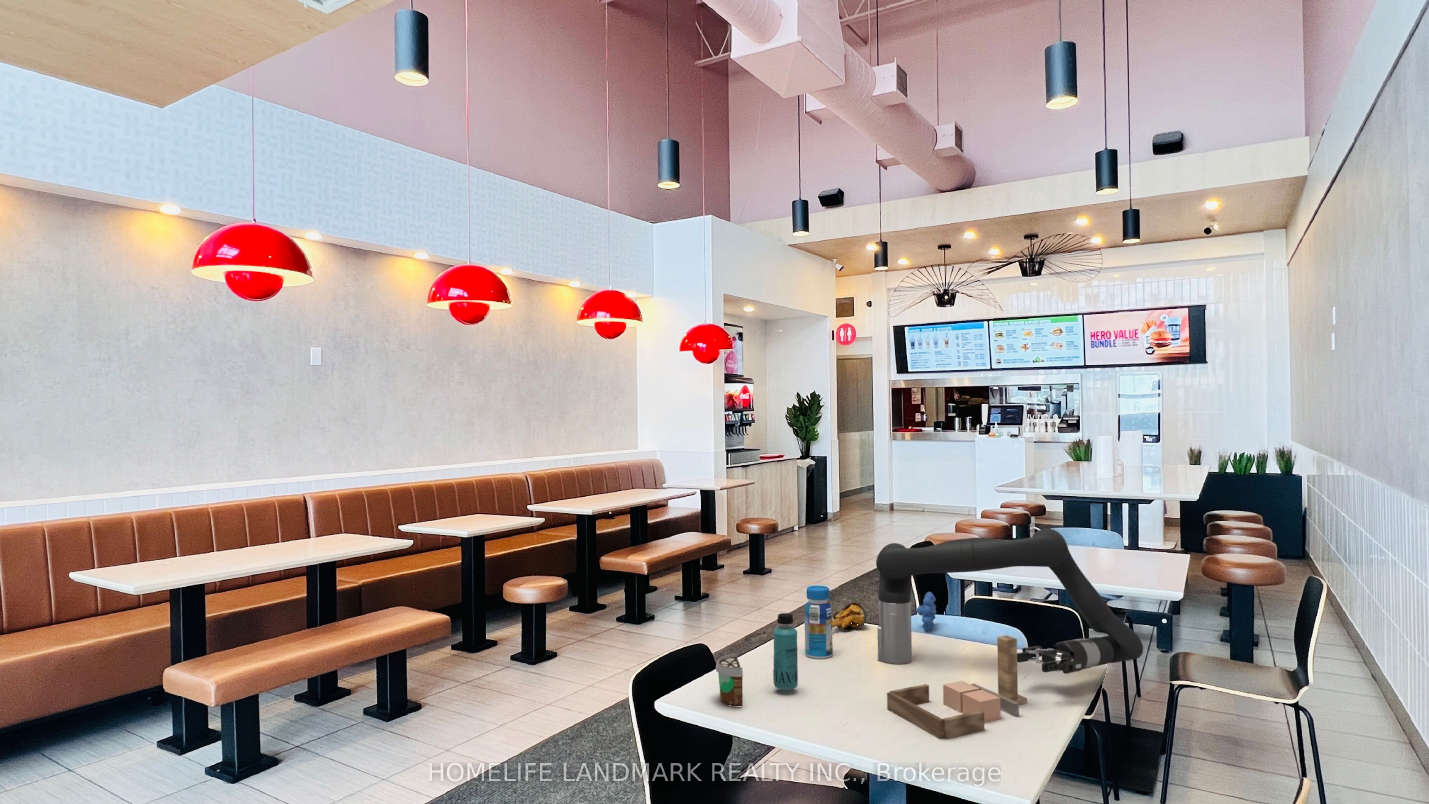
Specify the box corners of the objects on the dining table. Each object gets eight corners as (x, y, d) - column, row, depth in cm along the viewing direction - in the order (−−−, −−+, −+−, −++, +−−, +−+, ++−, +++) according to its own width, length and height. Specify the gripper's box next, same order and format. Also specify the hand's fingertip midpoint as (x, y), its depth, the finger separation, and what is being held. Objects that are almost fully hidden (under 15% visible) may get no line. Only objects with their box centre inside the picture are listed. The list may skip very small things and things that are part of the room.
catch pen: (926, 700, 199) (925, 684, 199) (984, 729, 180) (984, 712, 180) (885, 708, 194) (885, 691, 194) (941, 739, 175) (941, 721, 175)
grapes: (919, 623, 268) (918, 587, 268) (939, 625, 265) (939, 589, 265) (912, 632, 258) (912, 595, 258) (933, 634, 255) (933, 597, 255)
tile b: (962, 700, 198) (962, 680, 198) (979, 708, 193) (979, 688, 193) (943, 704, 196) (943, 684, 196) (960, 713, 190) (960, 692, 190)
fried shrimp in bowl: (877, 613, 264) (853, 606, 251) (861, 642, 264) (836, 637, 251) (856, 598, 270) (831, 591, 257) (840, 627, 270) (815, 621, 257)
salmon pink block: (982, 710, 192) (981, 689, 192) (1000, 719, 187) (1000, 697, 187) (962, 714, 190) (962, 693, 190) (980, 723, 184) (980, 701, 184)
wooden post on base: (998, 690, 205) (997, 628, 205) (1044, 710, 191) (1042, 643, 191) (970, 696, 201) (969, 632, 201) (1015, 716, 187) (1014, 648, 187)
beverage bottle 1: (768, 691, 206) (767, 614, 206) (784, 684, 211) (782, 609, 211) (788, 697, 202) (787, 618, 202) (803, 690, 206) (802, 613, 207)
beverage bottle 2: (799, 653, 238) (798, 586, 238) (823, 649, 241) (822, 583, 242) (814, 661, 230) (813, 592, 230) (838, 656, 234) (837, 588, 234)
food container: (714, 692, 206) (713, 653, 206) (737, 691, 207) (737, 652, 207) (718, 710, 194) (717, 669, 194) (743, 709, 194) (742, 668, 194)
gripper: (1100, 677, 199) (1052, 686, 192) (1054, 661, 212) (1008, 669, 205) (1099, 647, 199) (1051, 655, 192) (1054, 633, 212) (1008, 640, 205)
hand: (1029, 662), depth 199 cm, fingers open, 8 cm apart
